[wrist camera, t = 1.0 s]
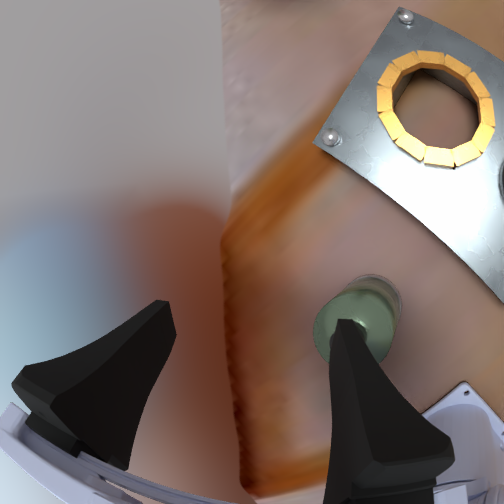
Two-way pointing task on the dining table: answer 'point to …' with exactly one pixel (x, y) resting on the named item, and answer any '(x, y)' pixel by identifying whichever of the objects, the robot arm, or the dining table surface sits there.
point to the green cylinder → (361, 315)
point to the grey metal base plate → (421, 156)
